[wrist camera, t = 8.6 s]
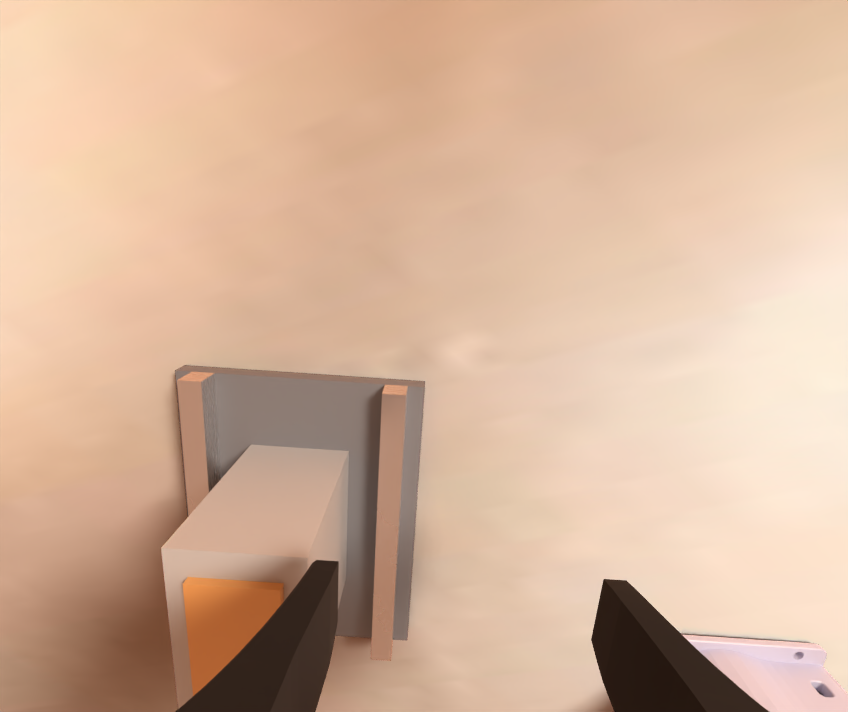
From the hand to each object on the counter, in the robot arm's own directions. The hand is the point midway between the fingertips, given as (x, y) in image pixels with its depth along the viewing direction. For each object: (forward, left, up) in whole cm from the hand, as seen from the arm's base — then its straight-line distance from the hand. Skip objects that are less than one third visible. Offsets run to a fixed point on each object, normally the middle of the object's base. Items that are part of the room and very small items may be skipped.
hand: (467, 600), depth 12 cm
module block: (+7, +4, -9) cm, 12 cm away
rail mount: (+7, +4, -9) cm, 12 cm away
